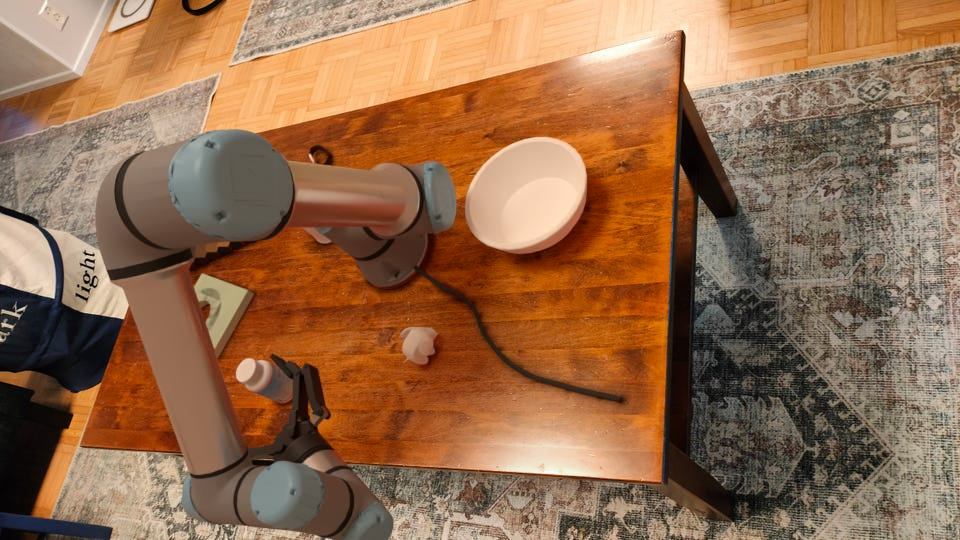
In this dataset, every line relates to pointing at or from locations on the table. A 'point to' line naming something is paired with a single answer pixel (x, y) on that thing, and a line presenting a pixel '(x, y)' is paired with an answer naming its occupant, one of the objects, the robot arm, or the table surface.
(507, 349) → the table surface
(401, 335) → the elephant figurine
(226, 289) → the mounting pad
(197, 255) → the pan flute
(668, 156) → the table surface
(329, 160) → the watch
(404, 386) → the table surface
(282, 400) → the pill bottle
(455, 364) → the table surface
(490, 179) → the bowl
